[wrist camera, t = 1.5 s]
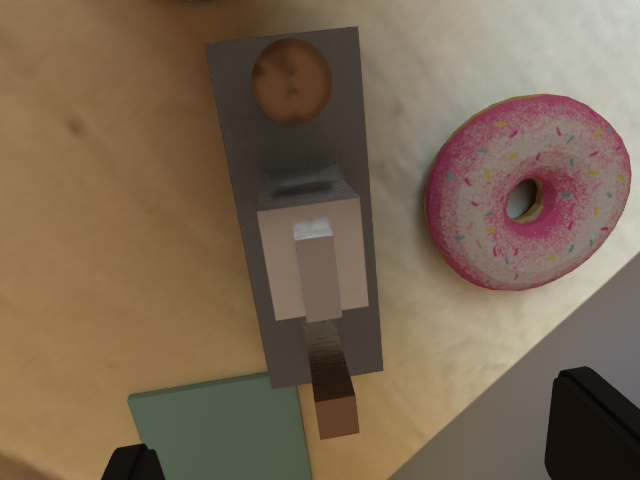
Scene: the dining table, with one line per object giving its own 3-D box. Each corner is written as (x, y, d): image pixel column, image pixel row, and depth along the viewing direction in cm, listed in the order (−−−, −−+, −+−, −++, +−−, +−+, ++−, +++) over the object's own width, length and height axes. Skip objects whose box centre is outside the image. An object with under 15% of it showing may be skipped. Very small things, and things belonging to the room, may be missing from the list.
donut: (376, 201, 29) (396, 220, 24) (513, 48, 26) (566, 36, 21) (492, 303, 33) (529, 337, 28) (621, 178, 30) (685, 192, 25)
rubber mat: (129, 395, 31) (127, 400, 31) (293, 367, 32) (293, 372, 32) (169, 510, 36) (168, 517, 35) (312, 484, 37) (313, 490, 36)
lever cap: (352, 272, 26) (373, 317, 20) (275, 284, 25) (275, 333, 20) (344, 180, 23) (365, 203, 18) (259, 191, 23) (255, 218, 18)
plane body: (370, 339, 32) (410, 437, 23) (271, 355, 32) (271, 462, 22) (345, 37, 25) (389, -2, 15) (215, 52, 24) (178, 21, 15)
